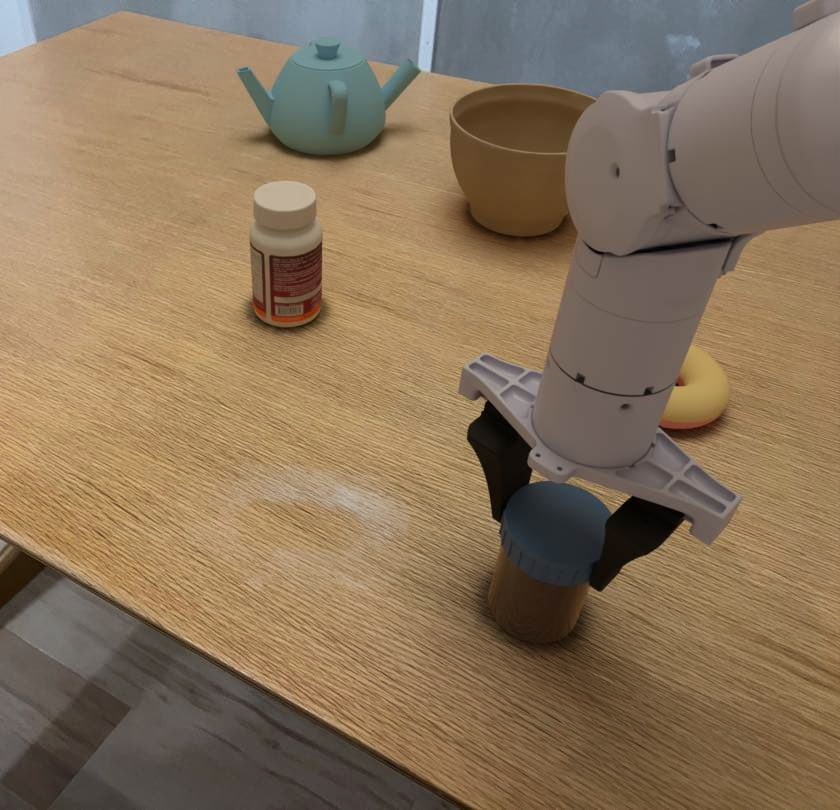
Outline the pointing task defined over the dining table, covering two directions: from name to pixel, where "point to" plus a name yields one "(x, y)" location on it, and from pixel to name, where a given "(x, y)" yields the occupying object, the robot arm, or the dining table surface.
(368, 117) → the teapot
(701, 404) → the donut
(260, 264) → the pill bottle
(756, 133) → the robot arm
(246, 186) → the dining table surface
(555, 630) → the jar
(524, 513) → the lid
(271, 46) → the dining table surface
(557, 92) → the planter bowl
